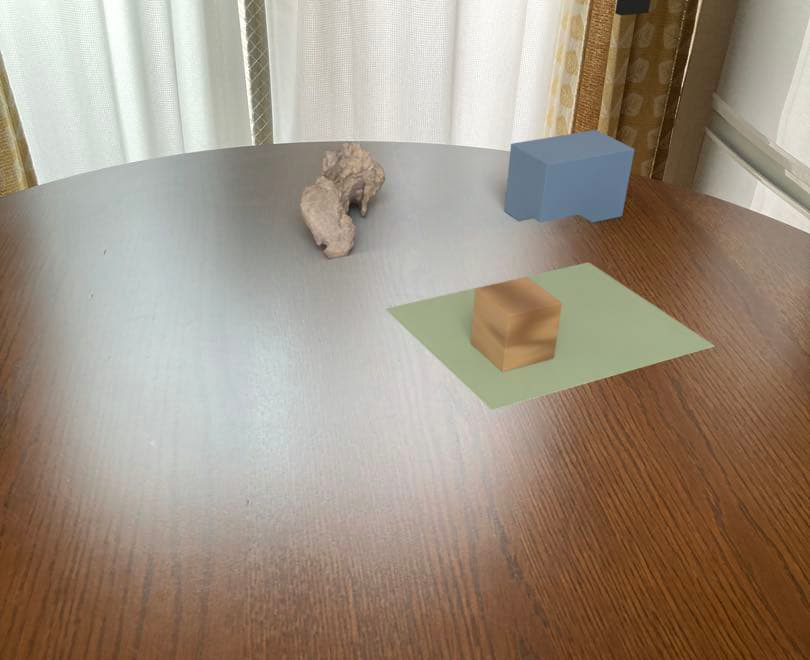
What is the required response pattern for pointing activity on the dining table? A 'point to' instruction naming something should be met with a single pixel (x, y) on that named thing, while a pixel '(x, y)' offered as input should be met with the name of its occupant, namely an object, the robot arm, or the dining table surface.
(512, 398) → the tray
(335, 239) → the rock
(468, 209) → the dining table surface
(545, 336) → the cork block
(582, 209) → the sponge
